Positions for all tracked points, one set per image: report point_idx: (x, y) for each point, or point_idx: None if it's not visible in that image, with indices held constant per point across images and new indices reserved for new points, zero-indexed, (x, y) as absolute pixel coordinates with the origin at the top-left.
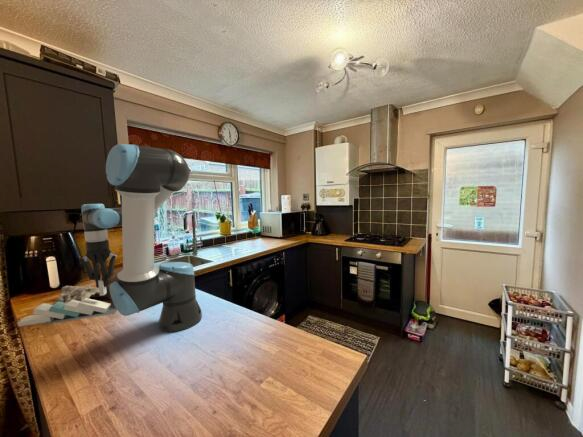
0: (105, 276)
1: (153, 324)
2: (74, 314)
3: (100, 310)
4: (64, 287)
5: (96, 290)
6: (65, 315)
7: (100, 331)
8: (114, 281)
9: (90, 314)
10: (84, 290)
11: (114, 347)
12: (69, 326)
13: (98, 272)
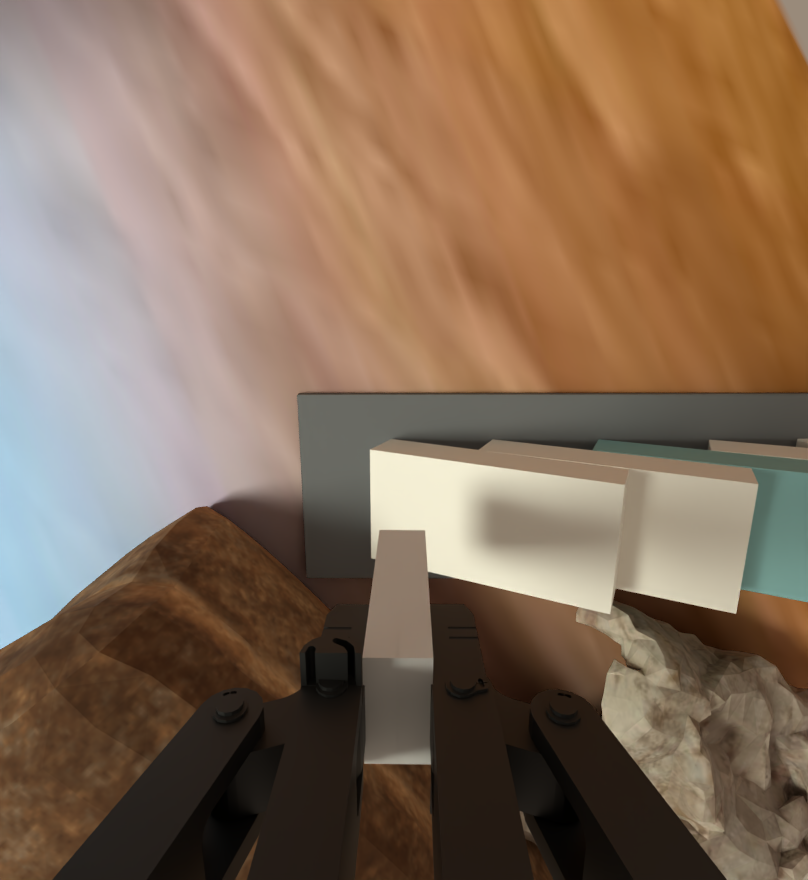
0: (294, 727)
1: None
2: (629, 447)
3: (418, 446)
4: None
5: None
6: None
7: (270, 54)
8: (379, 866)
9: (499, 441)
10: (698, 813)
11: None
12: (597, 285)
13: (439, 859)
